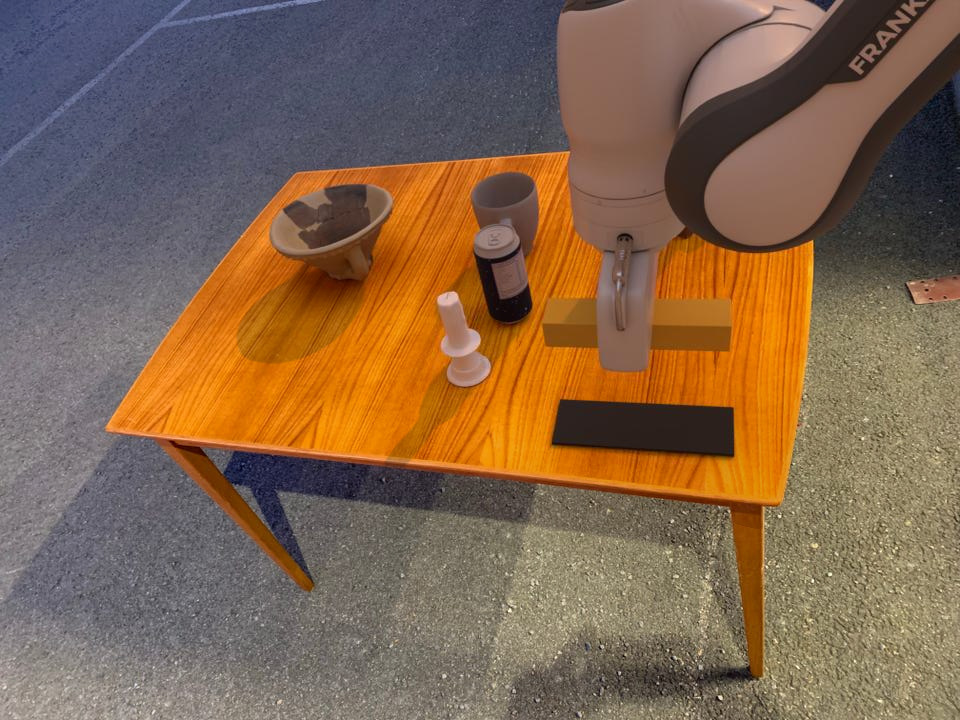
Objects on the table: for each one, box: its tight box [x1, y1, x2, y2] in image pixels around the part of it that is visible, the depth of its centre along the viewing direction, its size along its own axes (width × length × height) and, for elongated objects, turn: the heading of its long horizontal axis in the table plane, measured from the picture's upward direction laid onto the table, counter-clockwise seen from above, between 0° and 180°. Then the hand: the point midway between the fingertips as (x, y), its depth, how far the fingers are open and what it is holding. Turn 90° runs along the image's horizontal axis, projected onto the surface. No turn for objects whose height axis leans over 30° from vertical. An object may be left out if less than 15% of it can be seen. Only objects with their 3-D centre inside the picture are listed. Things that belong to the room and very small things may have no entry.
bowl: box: [268, 183, 394, 282], centre depth 100 cm, size 18×18×10 cm
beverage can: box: [472, 224, 534, 325], centre depth 85 cm, size 6×6×12 cm
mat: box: [551, 398, 736, 458], centre depth 72 cm, size 18×6×1 cm, turn 77°
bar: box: [541, 297, 733, 353], centre depth 62 cm, size 4×16×3 cm, turn 77°
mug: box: [470, 171, 540, 257], centre depth 94 cm, size 12×9×10 cm
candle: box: [436, 291, 492, 388], centre depth 79 cm, size 5×5×12 cm
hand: (636, 330), depth 62 cm, fingers closed on bar, 3 cm apart
